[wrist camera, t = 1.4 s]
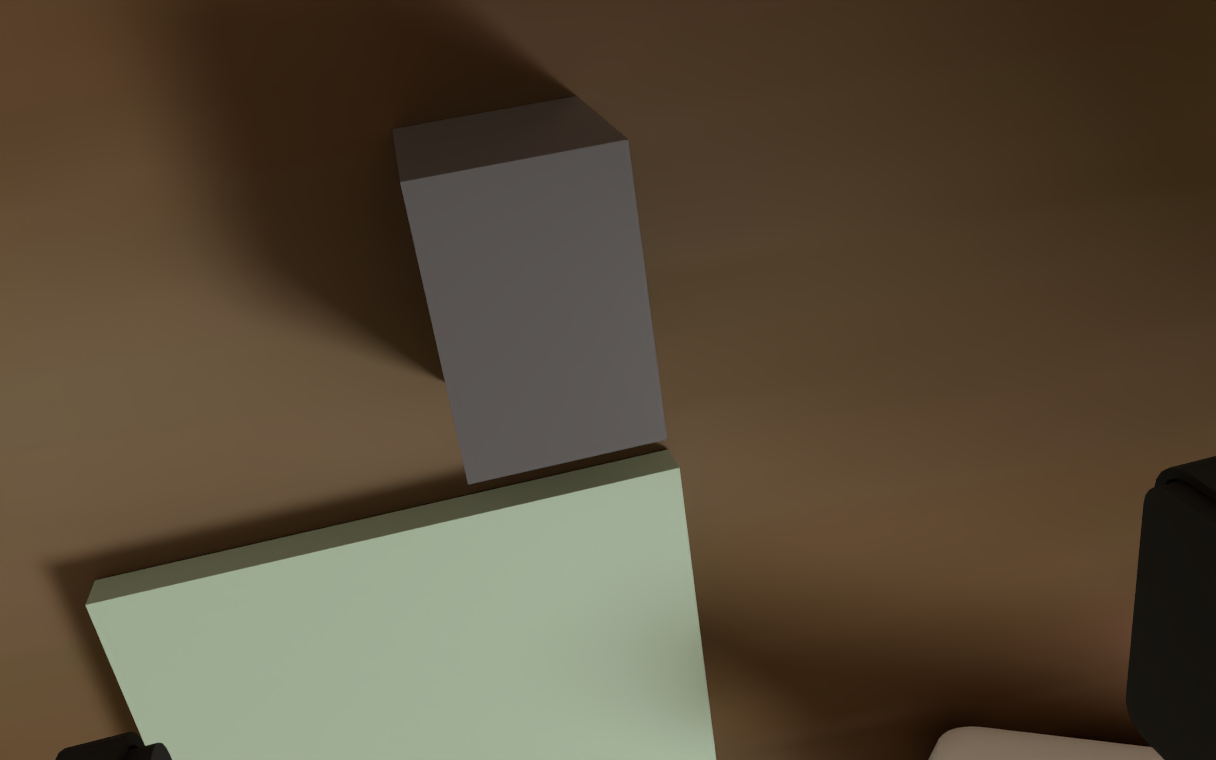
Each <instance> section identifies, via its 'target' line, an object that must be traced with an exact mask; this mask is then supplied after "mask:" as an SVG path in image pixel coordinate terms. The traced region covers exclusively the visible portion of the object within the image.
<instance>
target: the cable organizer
mask: <svg viewBox="0 0 1216 760" xmlns="http://www.w3.org/2000/svg"><path fill="white" fill-rule="evenodd" d="M928 760H1164V759H1163V758H1162V757H1161V756H1160V755H1159V754H1158V753H1157V752H1156V751H1155V750H1154V749H1153V748H1152V747H1146V746H1137V745H1129V744H1120V743H1112V742H1104V741H1095V740H1087V739H1078V738H1070V737H1062V736H1053V735H1045V734H1036V733H1028V732H1019V731H1011V730H1003V729H994V728H986V727H973V726H969V727H959V728H955V729H952V730H949V731H947V732H945V733H944V734H943V735H942V736H941V737H940V738H939V739H938V741H937V743H936V745H935V747H934V749H933V751H932V753H931V755H930V757H929V759H928Z"/></svg>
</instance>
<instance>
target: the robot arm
mask: <svg viewBox="0 0 1216 760" xmlns="http://www.w3.org/2000/svg"><path fill="white" fill-rule="evenodd" d="M1126 704H1127V709H1128V713H1129V715H1130V718H1131V720H1132V722H1133V724H1134V726H1135V727H1136V729H1137V731H1138V732H1139V733H1140V735H1141V736H1142V737H1143V738H1144V739H1145V740H1146V741H1147V742H1148V743H1149V744H1150V745H1151V747H1152V748H1153V749H1154V750H1155V751H1156V752H1157V753H1158V754H1159V755H1160V756H1161V757H1162V758H1163V759H1164V760H1216V456H1214V457H1210V458H1206V459H1202V460H1198V461H1194V462H1190V463H1186V464H1182V465H1179V466H1175V467H1171V468H1168V469H1166V470H1164V471H1162V472H1161V473H1160V475H1159V476H1158V478H1157V479H1156V483H1155V487H1154V488H1152V489H1150V490H1149V491H1148V492H1147V494H1146V495H1145V500H1144V505H1143V516H1142V527H1141V538H1140V549H1139V560H1138V571H1137V582H1136V593H1135V604H1134V614H1133V625H1132V636H1131V647H1130V658H1129V669H1128V680H1127V691H1126ZM56 760H172V758H171V756H170V754H169V752H168V750H167V748H166V746H165V745H164V744H163V743H154V744H151V745H147V746H145V744H144V743H143V741H142V739H141V738H140V737H139V736H138V735H137V734H136V733H134V732H127V733H124V734H120V735H116V736H112V737H108V738H104V739H100V740H96V741H92V742H88V743H84V744H80V745H76V746H72V747H68V748H65V749H63V750H62V751H61V752H60V753H59V754H58V756H57V758H56Z"/></svg>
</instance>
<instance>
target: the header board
mask: <svg viewBox="0 0 1216 760" xmlns="http://www.w3.org/2000/svg"><path fill="white" fill-rule="evenodd" d="M85 606H86V608H87V610H88V613H89V615H90V617H91V620H92V622H93V624H94V627H95V629H96V631H97V634H98V636H99V638H100V641H101V643H102V646H103V648H104V650H105V653H106V655H107V657H108V660H109V662H110V664H111V667H112V669H113V671H114V674H115V676H116V678H117V681H118V683H119V685H120V688H121V690H122V693H123V695H124V697H125V700H126V702H127V704H128V707H129V709H130V711H131V714H132V716H133V718H134V721H135V723H136V725H137V728H138V730H139V732H140V735H141V737H142V740H143V742H144V744H145V746H147V745H151V744H154V743H163V744H164V745H165V746H166V748H167V750H168V752H169V754H170V756H171V758H172V760H716V754H715V746H714V739H713V731H712V723H711V715H710V707H709V699H708V691H707V683H706V675H705V667H704V659H703V651H702V643H701V635H700V627H699V619H698V611H697V603H696V595H695V587H694V579H693V571H692V564H691V556H690V548H689V540H688V532H687V524H686V516H685V508H684V500H683V492H682V484H681V476H680V468H679V466H678V464H677V463H676V461H675V459H674V457H673V456H672V454H671V452H670V450H669V449H668V450H663V451H659V452H655V453H650V454H646V455H641V456H637V457H633V458H628V459H624V460H620V461H615V462H611V463H606V464H602V465H598V466H593V467H589V468H585V469H580V470H576V471H571V472H567V473H563V474H558V475H554V476H550V477H545V478H541V479H536V480H532V481H528V482H523V483H519V484H515V485H510V486H506V487H501V488H497V489H493V490H488V491H484V492H480V493H475V494H471V495H466V496H462V497H458V498H453V499H449V500H445V501H440V502H436V503H431V504H427V505H423V506H418V507H414V508H410V509H405V510H401V511H396V512H392V513H388V514H383V515H379V516H375V517H370V518H366V519H361V520H357V521H353V522H348V523H344V524H340V525H335V526H331V527H326V528H322V529H318V530H313V531H309V532H305V533H300V534H296V535H291V536H287V537H283V538H278V539H274V540H270V541H265V542H261V543H256V544H252V545H248V546H243V547H239V548H235V549H230V550H226V551H221V552H217V553H213V554H208V555H204V556H200V557H195V558H191V559H186V560H182V561H178V562H173V563H169V564H165V565H160V566H156V567H151V568H147V569H143V570H138V571H134V572H130V573H125V574H121V575H116V576H112V577H108V578H103V579H99V580H95V582H94V584H93V587H92V589H91V592H90V594H89V597H88V600H87V602H86V605H85Z"/></svg>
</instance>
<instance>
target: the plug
mask: <svg viewBox="0 0 1216 760" xmlns="http://www.w3.org/2000/svg"><path fill="white" fill-rule="evenodd" d="M392 133H393V140H394V146H395V153H396V159H397V166H398V172H399V179H400V184H401V189H402V193H403V198H404V202H405V206H406V211H407V215H408V220H409V224H410V229H411V233H412V238H413V242H414V246H415V251H416V255H417V260H418V264H419V269H420V273H421V278H422V282H423V286H424V291H425V295H426V300H427V304H428V309H429V313H430V318H431V322H432V327H433V331H434V335H435V340H436V344H437V349H438V353H439V358H440V362H441V367H442V371H443V375H444V380H445V384H446V389H447V393H448V398H449V402H450V407H451V411H452V415H453V420H454V424H455V429H456V433H457V438H458V442H459V447H460V451H461V456H462V460H463V464H464V469H465V473H466V478H467V482H468V485H469V484H474V483H478V482H482V481H487V480H491V479H496V478H500V477H504V476H509V475H513V474H518V473H522V472H526V471H531V470H535V469H540V468H544V467H548V466H553V465H557V464H562V463H566V462H570V461H575V460H579V459H584V458H588V457H592V456H597V455H601V454H606V453H610V452H614V451H619V450H623V449H628V448H632V447H636V446H641V445H645V444H650V443H654V442H658V441H663V440H667V435H666V427H665V419H664V412H663V404H662V396H661V388H660V381H659V373H658V365H657V358H656V350H655V342H654V334H653V327H652V319H651V311H650V304H649V296H648V288H647V281H646V273H645V265H644V257H643V250H642V242H641V234H640V227H639V219H638V211H637V203H636V196H635V188H634V180H633V173H632V165H631V157H630V150H629V142H628V139H627V138H626V137H625V136H623V135H622V134H621V133H620V132H619V131H618V130H616V129H615V128H614V127H613V126H612V125H610V124H609V123H608V122H607V121H606V120H605V119H603V118H602V117H601V116H600V115H599V114H598V113H596V112H595V111H594V110H593V109H592V108H590V107H589V106H588V105H587V104H586V103H585V102H583V101H582V100H581V99H580V98H579V97H577V96H573V97H567V98H562V99H556V100H551V101H545V102H540V103H534V104H529V105H523V106H517V107H512V108H506V109H501V110H495V111H490V112H484V113H479V114H473V115H468V116H462V117H457V118H451V119H445V120H440V121H434V122H429V123H423V124H418V125H412V126H407V127H401V128H396V129H392Z"/></svg>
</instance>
